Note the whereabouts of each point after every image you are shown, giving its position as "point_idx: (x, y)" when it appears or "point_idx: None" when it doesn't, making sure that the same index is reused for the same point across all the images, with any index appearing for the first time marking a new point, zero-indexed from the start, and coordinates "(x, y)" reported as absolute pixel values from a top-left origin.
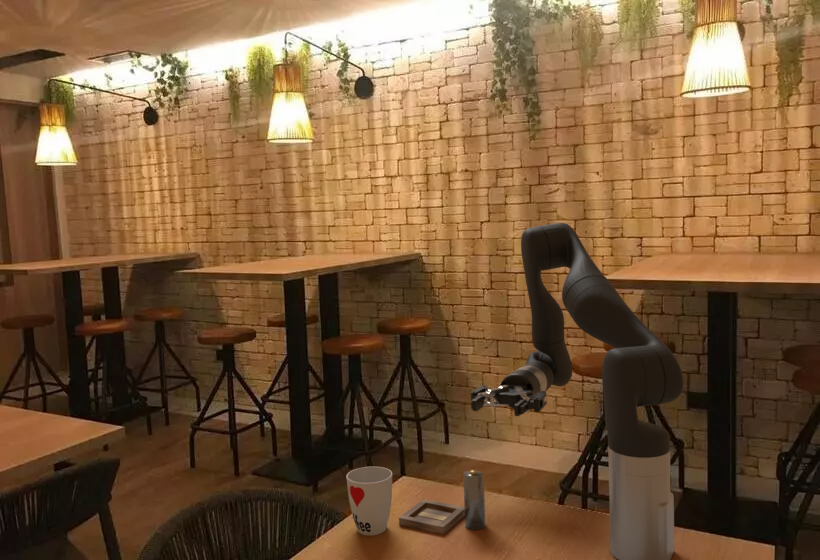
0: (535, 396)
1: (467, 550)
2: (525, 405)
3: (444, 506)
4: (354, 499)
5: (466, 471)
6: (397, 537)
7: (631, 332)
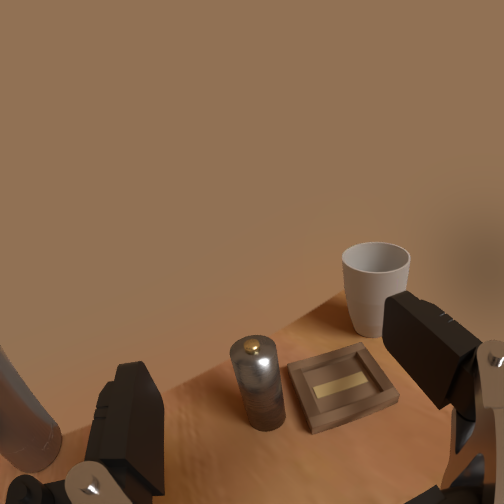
0: None
1: (229, 365)
2: (95, 425)
3: (347, 405)
4: (365, 266)
5: (275, 349)
6: (329, 334)
7: None
